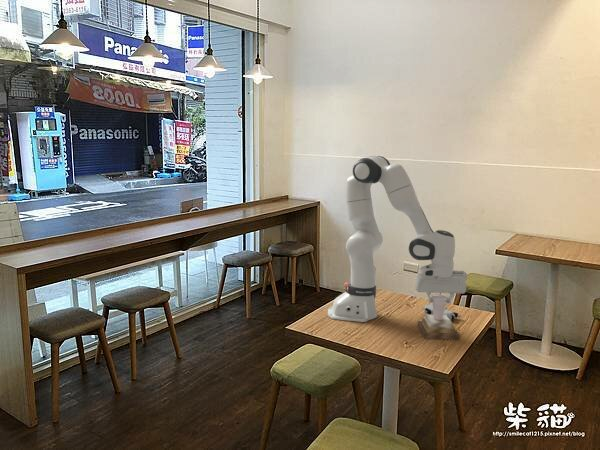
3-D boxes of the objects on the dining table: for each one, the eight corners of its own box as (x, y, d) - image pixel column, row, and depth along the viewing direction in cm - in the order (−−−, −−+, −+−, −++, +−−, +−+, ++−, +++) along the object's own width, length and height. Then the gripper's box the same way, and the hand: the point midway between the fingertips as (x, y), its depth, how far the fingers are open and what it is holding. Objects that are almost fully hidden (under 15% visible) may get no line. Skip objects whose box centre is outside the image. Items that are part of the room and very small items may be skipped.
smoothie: (448, 318, 206) (450, 285, 204) (442, 322, 201) (445, 289, 199) (433, 314, 210) (435, 282, 208) (427, 318, 205) (429, 286, 203)
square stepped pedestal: (424, 338, 200) (425, 324, 199) (417, 325, 214) (418, 312, 213) (459, 339, 200) (460, 325, 199) (449, 326, 214) (450, 313, 213)
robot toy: (462, 322, 222) (437, 309, 234) (463, 312, 221) (438, 300, 233) (443, 327, 215) (418, 313, 228) (444, 317, 214) (419, 304, 227)
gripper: (465, 268, 205) (462, 300, 208) (415, 267, 206) (413, 299, 208) (469, 273, 199) (466, 305, 201) (418, 271, 199) (416, 304, 202)
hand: (439, 302), depth 205 cm, fingers closed on smoothie, 6 cm apart
